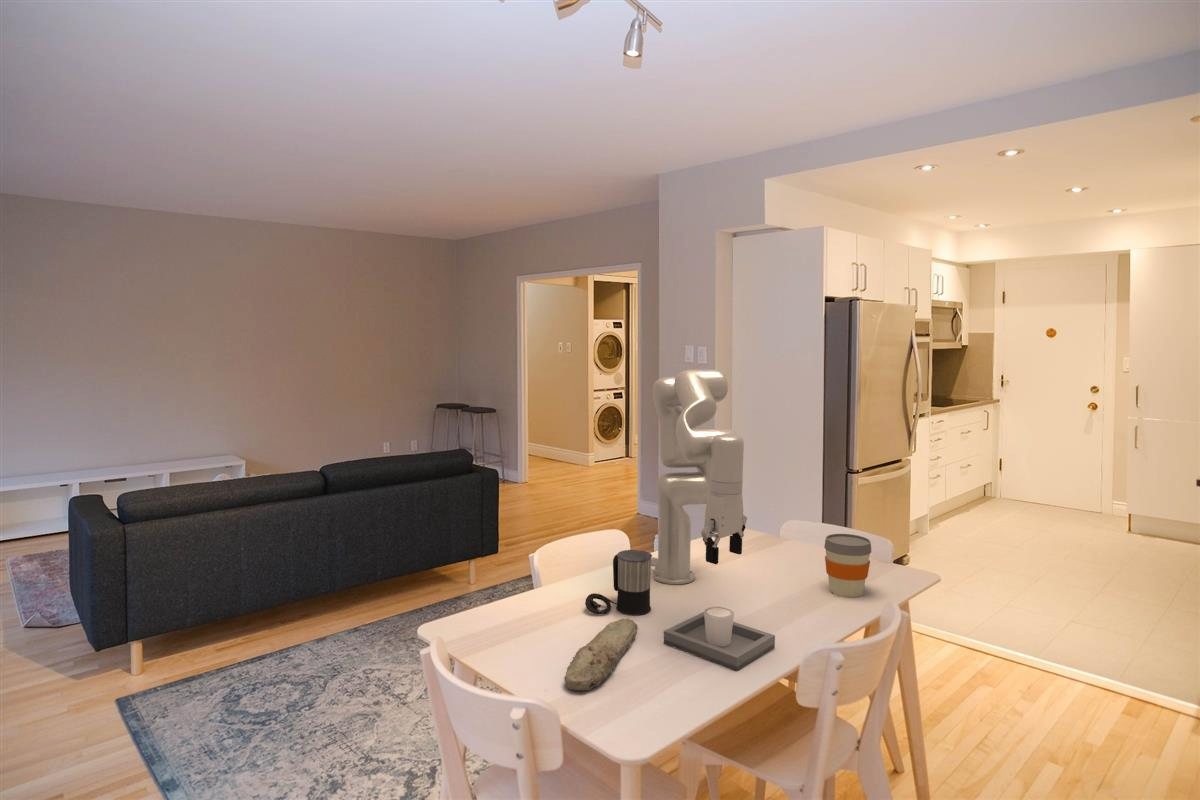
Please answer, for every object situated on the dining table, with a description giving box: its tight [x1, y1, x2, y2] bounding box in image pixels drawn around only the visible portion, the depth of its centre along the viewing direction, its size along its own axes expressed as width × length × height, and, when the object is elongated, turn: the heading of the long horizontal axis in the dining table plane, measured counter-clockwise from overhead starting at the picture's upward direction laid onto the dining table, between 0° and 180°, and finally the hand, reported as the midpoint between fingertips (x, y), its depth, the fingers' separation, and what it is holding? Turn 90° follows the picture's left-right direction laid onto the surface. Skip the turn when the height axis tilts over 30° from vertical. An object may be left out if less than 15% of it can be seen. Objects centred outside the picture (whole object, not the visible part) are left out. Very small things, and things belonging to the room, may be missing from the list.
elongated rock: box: [563, 618, 638, 691], centre depth 159 cm, size 35×5×10 cm
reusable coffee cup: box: [824, 533, 872, 598], centre depth 201 cm, size 12×13×15 cm
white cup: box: [703, 606, 735, 646], centre depth 165 cm, size 7×7×7 cm
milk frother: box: [584, 549, 653, 616], centre depth 186 cm, size 14×16×15 cm
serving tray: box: [663, 611, 776, 672], centre depth 165 cm, size 20×16×3 cm
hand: (723, 557), depth 168 cm, fingers open, 9 cm apart
